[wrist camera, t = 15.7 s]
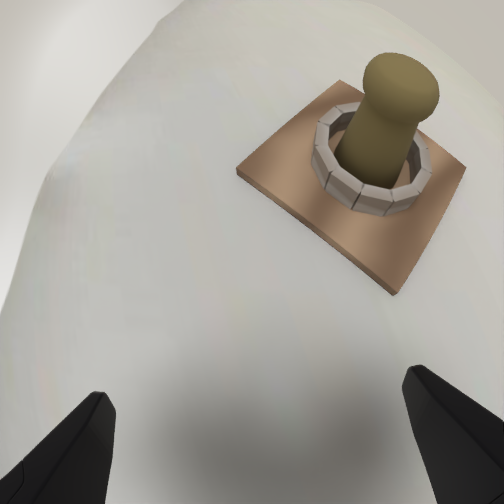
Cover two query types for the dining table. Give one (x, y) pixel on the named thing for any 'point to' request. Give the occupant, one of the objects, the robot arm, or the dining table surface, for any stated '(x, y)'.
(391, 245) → the socket holder
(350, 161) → the cork
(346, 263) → the dining table surface
